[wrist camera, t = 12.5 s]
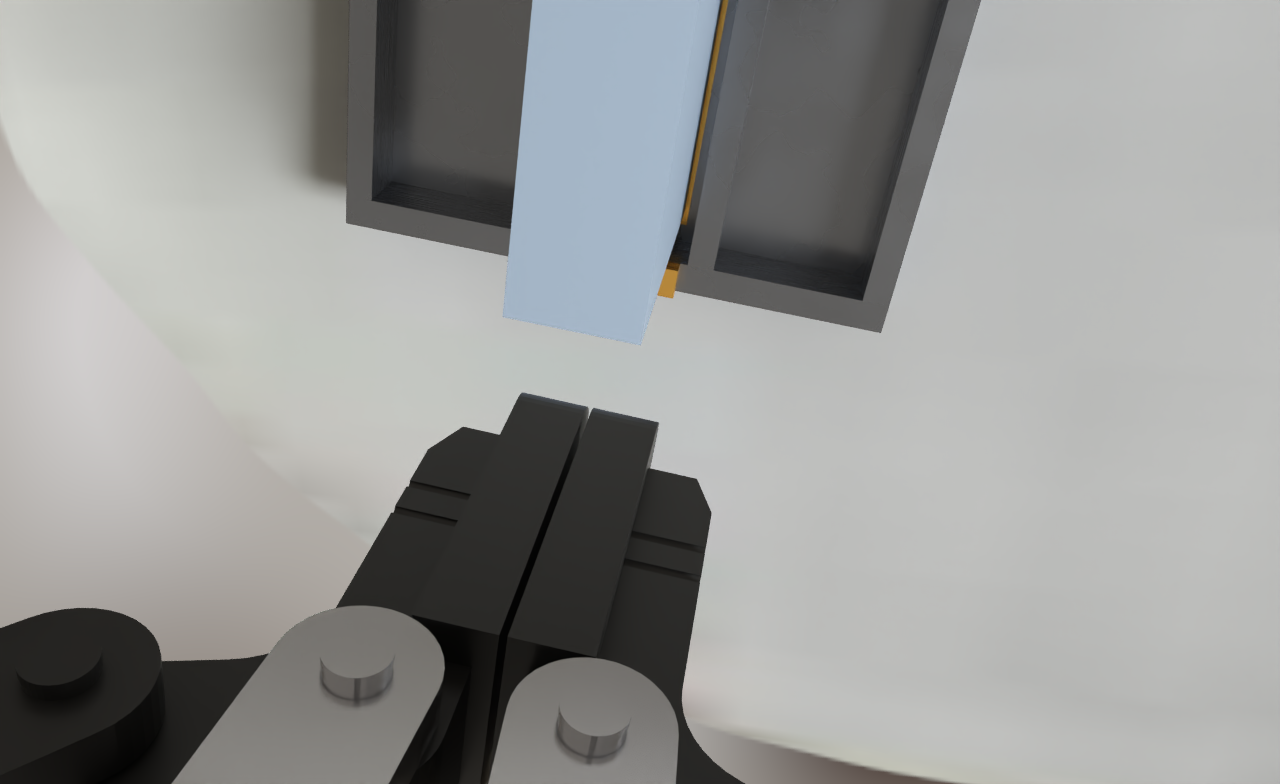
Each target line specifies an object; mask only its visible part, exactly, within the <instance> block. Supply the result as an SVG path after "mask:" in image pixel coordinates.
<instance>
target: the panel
mask: <svg viewBox="0 0 1280 784" xmlns="http://www.w3.org/2000/svg"><path fill="white" fill-rule="evenodd" d="M722 1H723V0H532V11H531V22H530V32H529V43H528V54H527V64H526V75H525V85H524V96H523V107H522V117H521V128H520V138H519V149H518V160H517V170H516V181H515V191H514V202H513V213H512V223H511V234H510V244H509V255H508V266H507V276H506V287H505V297H504V308H503V317H505V318H510V319H515V320H520V321H525V322H529V323H534V324H539V325H544V326H549V327H554V328H559V329H564V330H568V331H573V332H578V333H583V334H588V335H593V336H598V337H603V338H607V339H612V340H617V341H622V342H627V343H632V344H637V345H641V343H642V340H643V337H644V334H645V331H646V328H647V325H648V321H649V318H650V315H651V312H652V309H653V306H654V303H655V300H656V297H657V294H658V291H659V288H660V285H661V282H662V279H663V276H664V273H665V270H666V267H667V264H668V260H669V257H670V254H671V251H672V248H673V245H674V242H675V239H676V236H677V233H678V230H679V227H680V224H681V221H682V218H683V215H684V212H685V206H686V201H687V195H688V190H689V184H690V178H691V173H692V167H693V162H694V156H695V151H696V145H697V140H698V134H699V129H700V123H701V117H702V112H703V106H704V101H705V95H706V90H707V84H708V79H709V73H710V67H711V62H712V56H713V51H714V45H715V40H716V34H717V29H718V23H719V18H720V12H721V6H722Z"/></svg>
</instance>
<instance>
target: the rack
mask: <svg viewBox="0 0 1280 784" xmlns="http://www.w3.org/2000/svg"><path fill="white" fill-rule="evenodd" d="M980 2H981V0H723V1H722V6H721V12H720V18H719V23H718V29H717V34H716V40H715V45H714V51H713V56H712V62H711V67H710V73H709V79H708V84H707V90H706V95H705V101H704V106H703V112H702V117H701V123H700V129H699V134H698V140H697V145H696V151H695V156H694V162H693V167H692V173H691V178H690V184H689V190H688V195H687V201H686V206H685V212H684V215H683V218H682V221H681V224H680V227H679V230H678V233H677V236H676V239H675V242H674V245H673V248H672V251H671V254H670V257H669V260H668V264H667V267H666V270H665V273H664V276H663V279H662V282H661V285H660V288H659V291H658V294H657V295H658V296H663V297H668V298H673V297H674V293H675V291H679V292H684V293H689V294H694V295H699V296H703V297H708V298H713V299H718V300H723V301H728V302H733V303H738V304H742V305H747V306H752V307H757V308H762V309H767V310H772V311H776V312H781V313H786V314H791V315H796V316H801V317H806V318H811V319H815V320H820V321H825V322H830V323H835V324H840V325H845V326H850V327H854V328H859V329H864V330H869V331H874V332H879V333H881V331H882V328H883V324H884V321H885V318H886V314H887V311H888V308H889V304H890V301H891V298H892V294H893V291H894V288H895V285H896V281H897V278H898V275H899V271H900V268H901V265H902V261H903V258H904V255H905V251H906V248H907V245H908V241H909V238H910V235H911V231H912V228H913V225H914V221H915V218H916V215H917V211H918V208H919V205H920V201H921V198H922V195H923V191H924V188H925V185H926V181H927V178H928V175H929V171H930V168H931V165H932V161H933V158H934V155H935V151H936V148H937V145H938V141H939V138H940V135H941V132H942V128H943V125H944V122H945V118H946V115H947V112H948V108H949V105H950V102H951V98H952V95H953V92H954V88H955V85H956V82H957V78H958V75H959V72H960V68H961V65H962V62H963V58H964V55H965V52H966V48H967V45H968V42H969V38H970V35H971V32H972V28H973V25H974V22H975V18H976V15H977V12H978V8H979V5H980ZM531 11H532V0H349V65H348V132H347V199H346V223H348V224H353V225H358V226H363V227H368V228H373V229H377V230H382V231H387V232H392V233H397V234H402V235H407V236H411V237H416V238H421V239H426V240H431V241H436V242H441V243H446V244H450V245H455V246H460V247H465V248H470V249H475V250H480V251H484V252H489V253H494V254H499V255H504V256H508V255H509V244H510V234H511V223H512V213H513V202H514V191H515V181H516V170H517V160H518V149H519V138H520V128H521V117H522V107H523V96H524V85H525V75H526V64H527V54H528V43H529V32H530V22H531Z"/></svg>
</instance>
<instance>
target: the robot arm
mask: <svg viewBox="0 0 1280 784" xmlns="http://www.w3.org/2000/svg"><path fill="white" fill-rule="evenodd" d="M588 413H589V409H588V407H585V406H581V405H576V404H572V403H568V402H563V401H559V400H554V399H550V398H545V397H541V396H536V395H532V394H527V393H521V394H520V396H519V397H518V399H517V401H516V403H515V405H514V407H513V409H512V411H511V413H510V415H509V417H508V420H507V422H506V424H505V426H504V428H503V430H502V432H501V434H500V435H498V434H493V433H489V432H484V431H480V430H475V429H471V428H467V427H462V428H460V429H459V430H457V431H456V432H454V433H453V434H451V435H450V436H448V437H446V438H445V439H443V440H442V441H440V442H439V443H437V444H436V445H434V446H433V447H431V448H430V449H428V451H427V452H426V454H425V456H424V458H423V459H422V461H421V463H420V464H419V466H418V468H417V470H416V471H415V473H414V475H413V476H412V478H411V480H410V484H409V487H406V488H405V490H404V492H403V494H402V495H401V497H400V499H399V500H398V502H397V504H396V506H395V510H394V513H391V514H390V516H389V518H388V519H387V521H386V523H385V525H384V526H383V528H382V530H381V531H380V533H379V535H378V537H377V538H376V540H375V542H374V543H373V545H372V547H371V549H370V550H369V552H368V554H367V555H366V557H365V559H364V561H363V562H362V564H361V566H360V568H359V569H358V571H357V573H356V574H355V576H354V578H353V580H352V581H351V583H350V585H349V586H348V588H347V590H346V592H345V593H344V595H343V597H342V599H341V600H340V602H339V604H338V605H337V607H336V608H334V609H331V610H327V611H323V612H320V613H318V614H316V615H313V616H311V617H308V618H306V619H305V620H303V621H301V622H300V623H298V624H296V625H295V626H294V627H293V628H291V629H290V630H289V631H288V632H286V633H285V634H284V636H283V637H282V638H281V639H280V640H279V641H278V642H277V644H276V645H275V646H274V647H273V649H272V650H271V652H270V653H269V654H265V655H261V656H255V657H250V658H243V659H230V660H195V661H162V660H161V653H160V649H159V646H158V643H157V641H156V639H155V637H154V635H152V633H151V632H150V631H149V630H148V629H147V628H146V627H145V626H144V625H142V624H141V623H139V622H138V621H137V620H135V619H133V618H131V617H128V616H126V615H124V614H121V613H117V612H114V611H109V610H103V609H96V608H74V609H64V610H58V611H52V612H48V613H43V614H40V615H37V616H34V617H30V618H27V619H25V620H22V621H19V622H16V623H14V624H11V625H8V626H5V627H3V628H0V784H745V783H743V782H741V781H740V780H738V779H736V778H735V777H733V776H732V775H730V774H729V773H727V772H725V771H724V770H723V769H722V768H721V767H720V766H718V765H717V764H716V763H715V762H713V761H712V759H711V758H710V757H709V756H707V754H706V753H705V752H704V751H703V750H702V749H701V747H700V746H699V744H698V743H697V742H696V740H695V739H694V737H693V736H692V733H691V732H690V730H689V728H688V726H687V723H686V720H685V717H684V713H683V707H682V688H683V682H684V676H685V670H686V664H687V658H688V652H689V646H690V640H691V634H692V628H693V622H694V616H695V610H696V604H697V598H698V591H699V585H700V578H701V573H702V567H703V561H704V555H705V554H704V553H705V549H706V543H707V537H708V531H709V525H710V519H711V511H710V508H709V506H708V504H707V501H706V499H705V497H704V494H703V492H702V490H701V487H700V485H699V483H698V480H697V479H695V478H690V477H686V476H681V475H677V474H672V473H668V472H663V471H659V470H654V469H650V466H651V462H652V457H653V452H654V447H655V442H656V437H657V432H658V426H659V423H658V422H654V421H650V420H645V419H641V418H636V417H632V416H627V415H623V414H618V413H614V412H609V411H605V410H600V409H596V408H593V409H592V411H591V414H590V416H589V419H588Z"/></svg>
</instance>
